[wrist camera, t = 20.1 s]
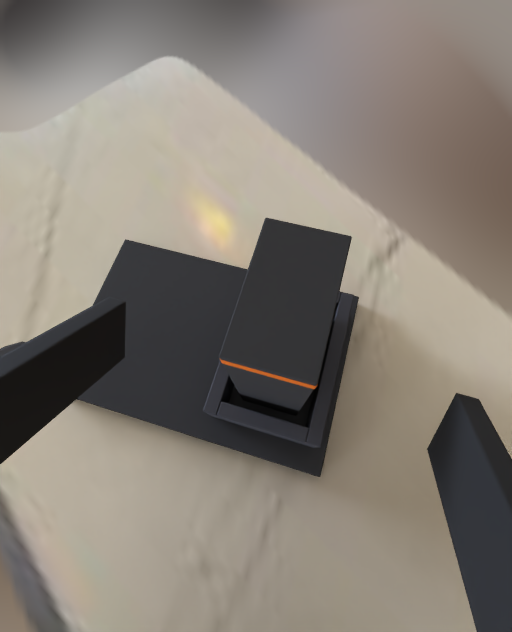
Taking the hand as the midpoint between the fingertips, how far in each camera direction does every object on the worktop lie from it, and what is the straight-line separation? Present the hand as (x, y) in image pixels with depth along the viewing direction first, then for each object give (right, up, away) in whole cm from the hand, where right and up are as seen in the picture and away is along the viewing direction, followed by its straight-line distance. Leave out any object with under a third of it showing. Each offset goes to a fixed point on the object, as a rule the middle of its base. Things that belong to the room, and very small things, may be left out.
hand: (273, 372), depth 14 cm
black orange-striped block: (+1, -1, +9) cm, 9 cm away
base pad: (-4, 0, +11) cm, 12 cm away
